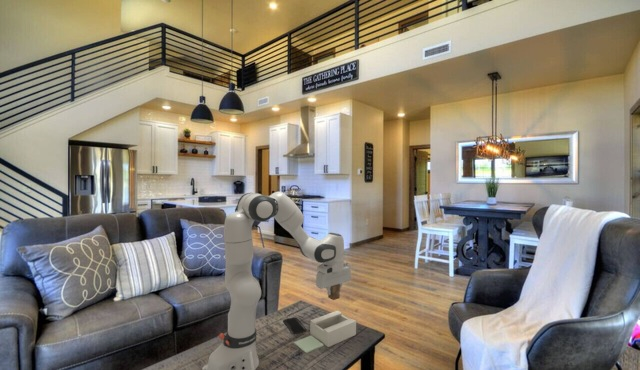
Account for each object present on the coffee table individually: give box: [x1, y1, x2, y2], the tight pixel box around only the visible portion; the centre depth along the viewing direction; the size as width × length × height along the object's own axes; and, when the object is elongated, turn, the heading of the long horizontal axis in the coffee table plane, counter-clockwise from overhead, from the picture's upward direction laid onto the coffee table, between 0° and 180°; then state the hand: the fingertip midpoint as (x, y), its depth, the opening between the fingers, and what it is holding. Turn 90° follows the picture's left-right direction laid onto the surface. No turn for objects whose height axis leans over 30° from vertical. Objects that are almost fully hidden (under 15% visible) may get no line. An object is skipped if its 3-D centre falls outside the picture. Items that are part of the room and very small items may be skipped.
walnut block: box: [327, 284, 341, 301], centre depth 149 cm, size 4×4×7 cm
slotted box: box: [309, 310, 357, 348], centre depth 150 cm, size 18×14×7 cm
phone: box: [282, 316, 307, 336], centre depth 158 cm, size 8×1×15 cm
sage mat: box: [293, 334, 325, 354], centre depth 141 cm, size 10×10×1 cm
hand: (333, 293), depth 149 cm, fingers closed on walnut block, 4 cm apart
